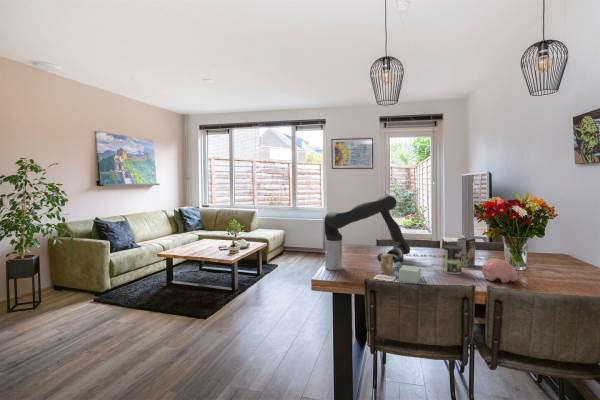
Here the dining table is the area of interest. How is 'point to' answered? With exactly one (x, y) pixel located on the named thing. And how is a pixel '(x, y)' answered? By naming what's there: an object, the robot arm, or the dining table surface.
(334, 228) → the robot arm
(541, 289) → the dining table surface
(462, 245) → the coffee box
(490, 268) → the pink piggy bank
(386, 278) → the page
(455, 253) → the coffee can
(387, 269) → the tan cylinder
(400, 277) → the base brick
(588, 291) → the dining table surface
